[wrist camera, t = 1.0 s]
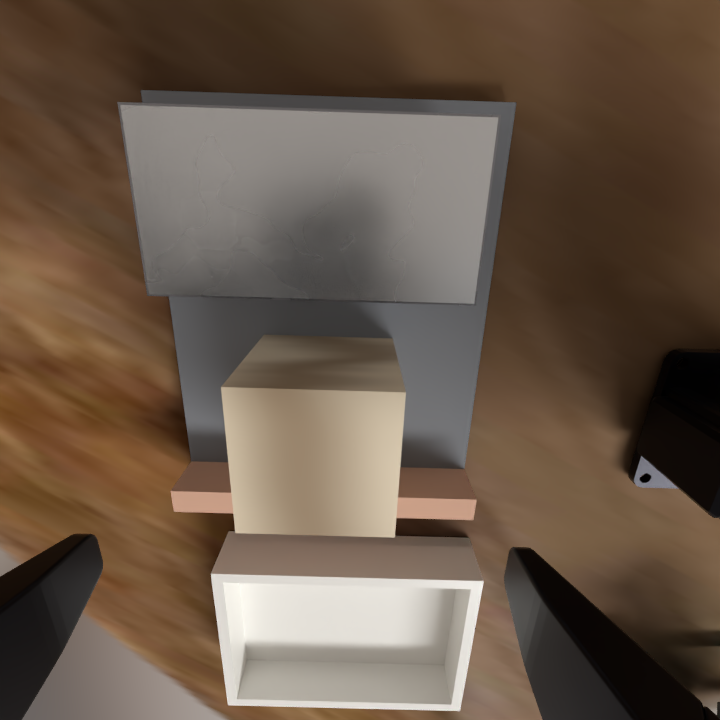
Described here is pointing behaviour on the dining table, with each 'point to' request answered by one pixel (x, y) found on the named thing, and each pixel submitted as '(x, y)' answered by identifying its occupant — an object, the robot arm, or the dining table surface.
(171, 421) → the dining table surface
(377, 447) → the block
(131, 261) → the dining table surface
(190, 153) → the grey square block
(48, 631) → the robot arm
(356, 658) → the tray
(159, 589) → the dining table surface
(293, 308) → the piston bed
